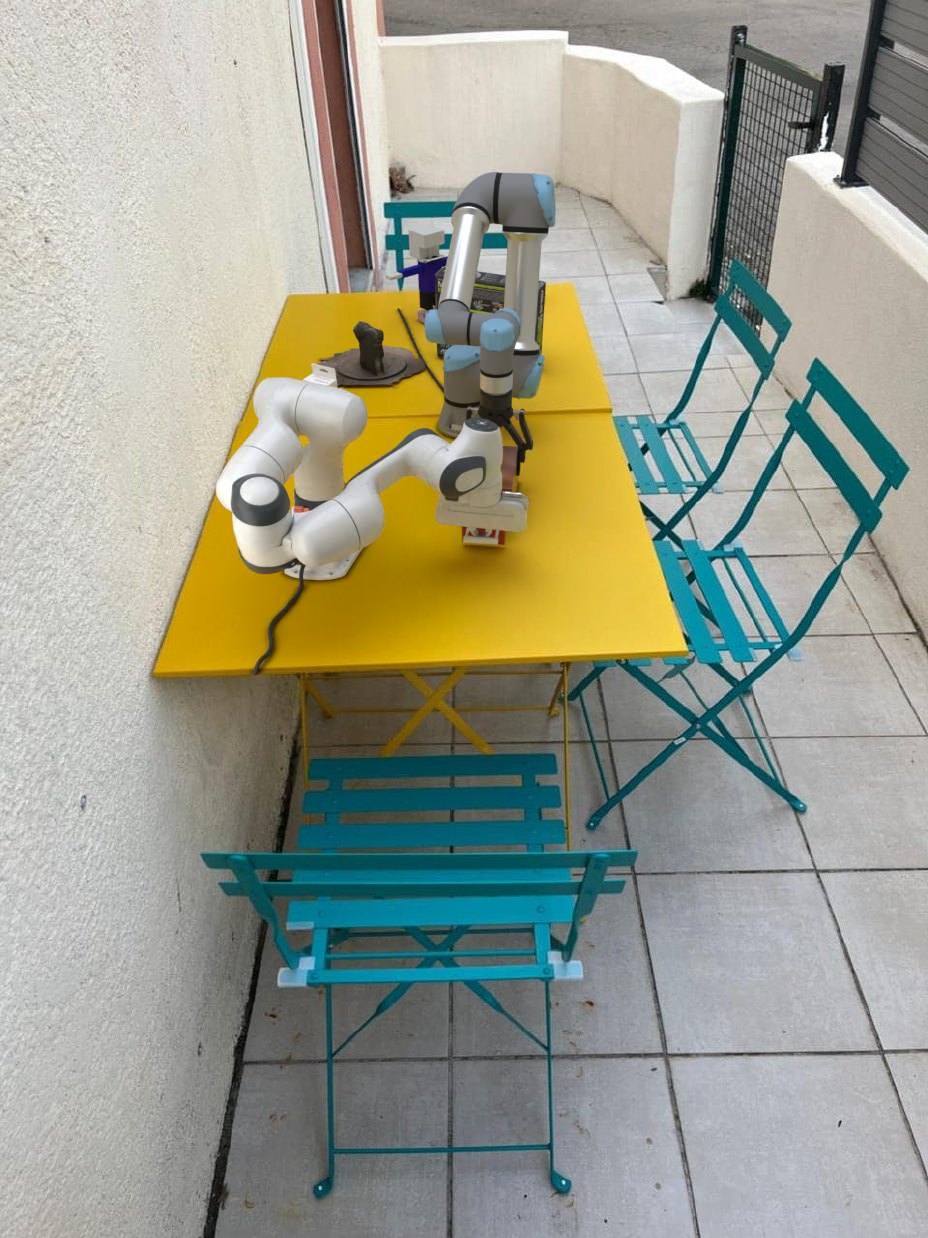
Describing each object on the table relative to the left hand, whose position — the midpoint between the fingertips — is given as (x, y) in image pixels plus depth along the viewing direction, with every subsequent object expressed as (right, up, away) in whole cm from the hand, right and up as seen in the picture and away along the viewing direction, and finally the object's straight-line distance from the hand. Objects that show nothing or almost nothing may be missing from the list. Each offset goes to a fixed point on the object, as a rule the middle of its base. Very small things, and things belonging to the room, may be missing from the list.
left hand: (481, 541), depth 199 cm
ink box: (-44, +40, +55) cm, 81 cm away
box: (+4, +64, +83) cm, 105 cm away
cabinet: (+3, +11, +20) cm, 23 cm away
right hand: (+4, +19, +20) cm, 28 cm away
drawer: (+1, +4, +10) cm, 10 cm away
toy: (-16, +86, +109) cm, 140 cm away
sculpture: (-34, +61, +80) cm, 106 cm away
